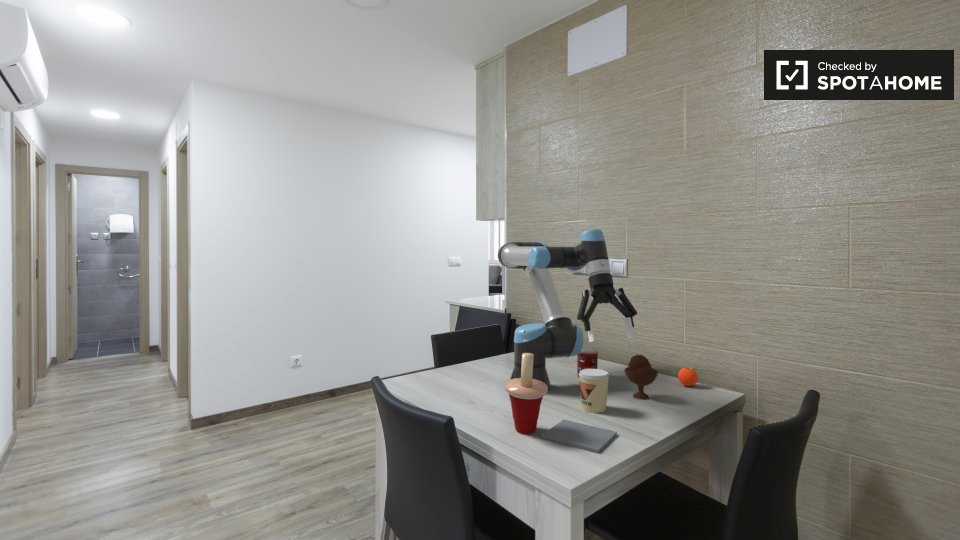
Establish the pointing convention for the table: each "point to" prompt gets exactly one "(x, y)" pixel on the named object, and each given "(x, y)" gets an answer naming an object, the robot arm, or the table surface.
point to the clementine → (688, 376)
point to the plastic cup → (525, 412)
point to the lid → (526, 381)
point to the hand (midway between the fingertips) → (612, 340)
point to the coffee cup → (593, 390)
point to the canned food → (587, 359)
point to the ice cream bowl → (640, 374)
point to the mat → (580, 435)
